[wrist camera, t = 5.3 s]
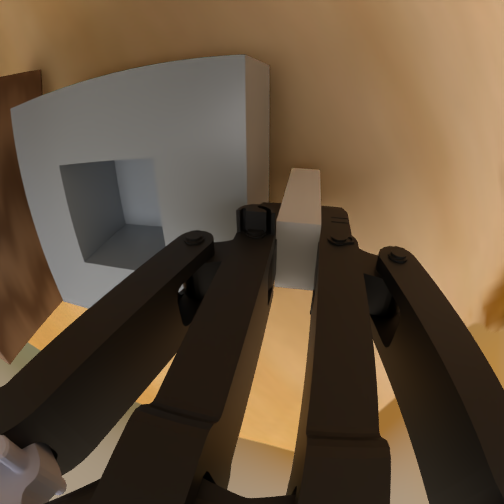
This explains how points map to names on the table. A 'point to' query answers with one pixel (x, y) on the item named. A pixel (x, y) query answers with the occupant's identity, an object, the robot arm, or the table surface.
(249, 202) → the socket block
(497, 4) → the table surface
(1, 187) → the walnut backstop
